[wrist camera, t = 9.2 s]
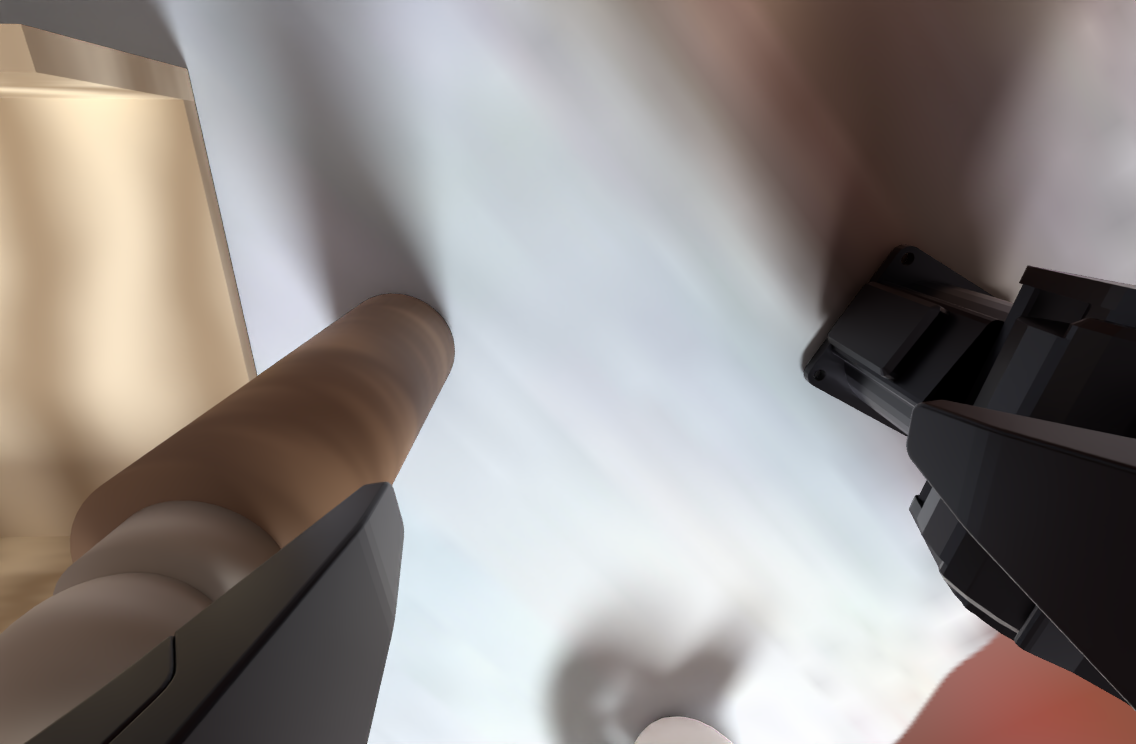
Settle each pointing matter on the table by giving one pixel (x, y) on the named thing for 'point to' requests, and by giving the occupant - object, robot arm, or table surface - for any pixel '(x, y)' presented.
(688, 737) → the white knot sculpture
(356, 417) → the pepper mill
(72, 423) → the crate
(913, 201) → the table surface
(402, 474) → the table surface
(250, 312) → the table surface
